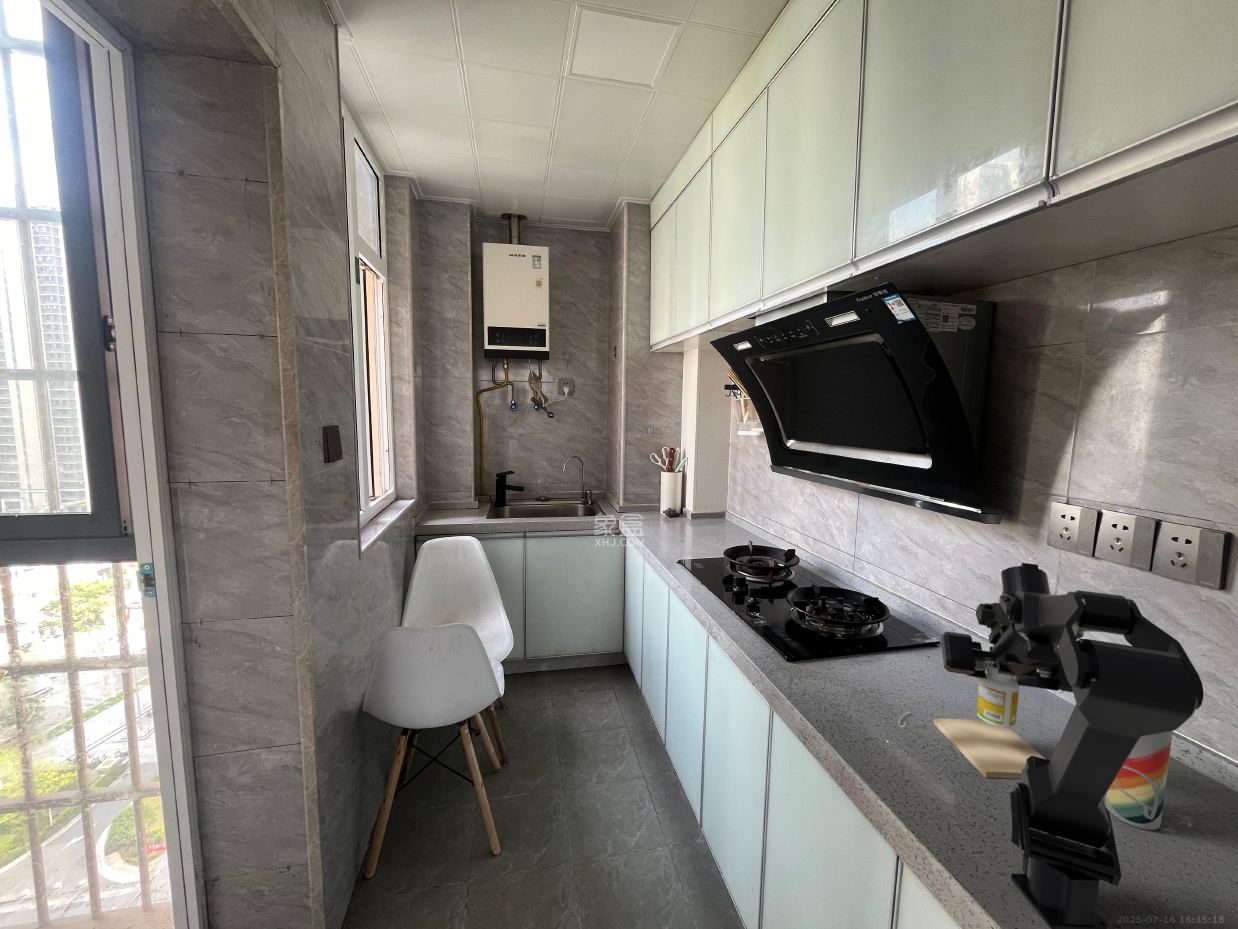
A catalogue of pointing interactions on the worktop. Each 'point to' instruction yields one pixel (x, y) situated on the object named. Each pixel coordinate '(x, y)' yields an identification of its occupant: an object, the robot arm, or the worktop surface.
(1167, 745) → the lotion bottle
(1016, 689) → the supplement bottle
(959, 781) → the worktop surface
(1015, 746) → the oak board
